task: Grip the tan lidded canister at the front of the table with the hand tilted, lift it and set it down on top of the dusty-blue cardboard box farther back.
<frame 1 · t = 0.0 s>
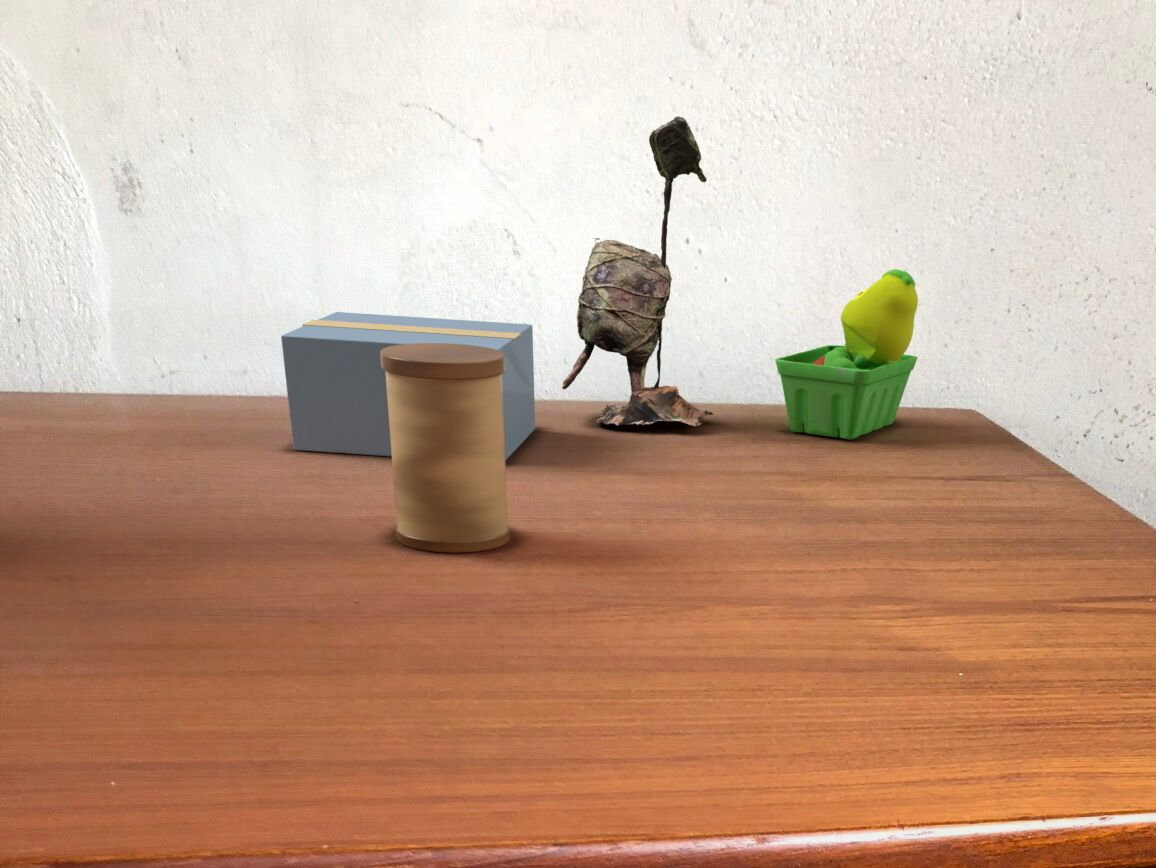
fruit basket: (849, 431, 116), on the table
blue box: (420, 439, 105), on the table
tan lidded canister: (453, 537, 83), on the table
brown bird sculpture: (639, 425, 114), on the table
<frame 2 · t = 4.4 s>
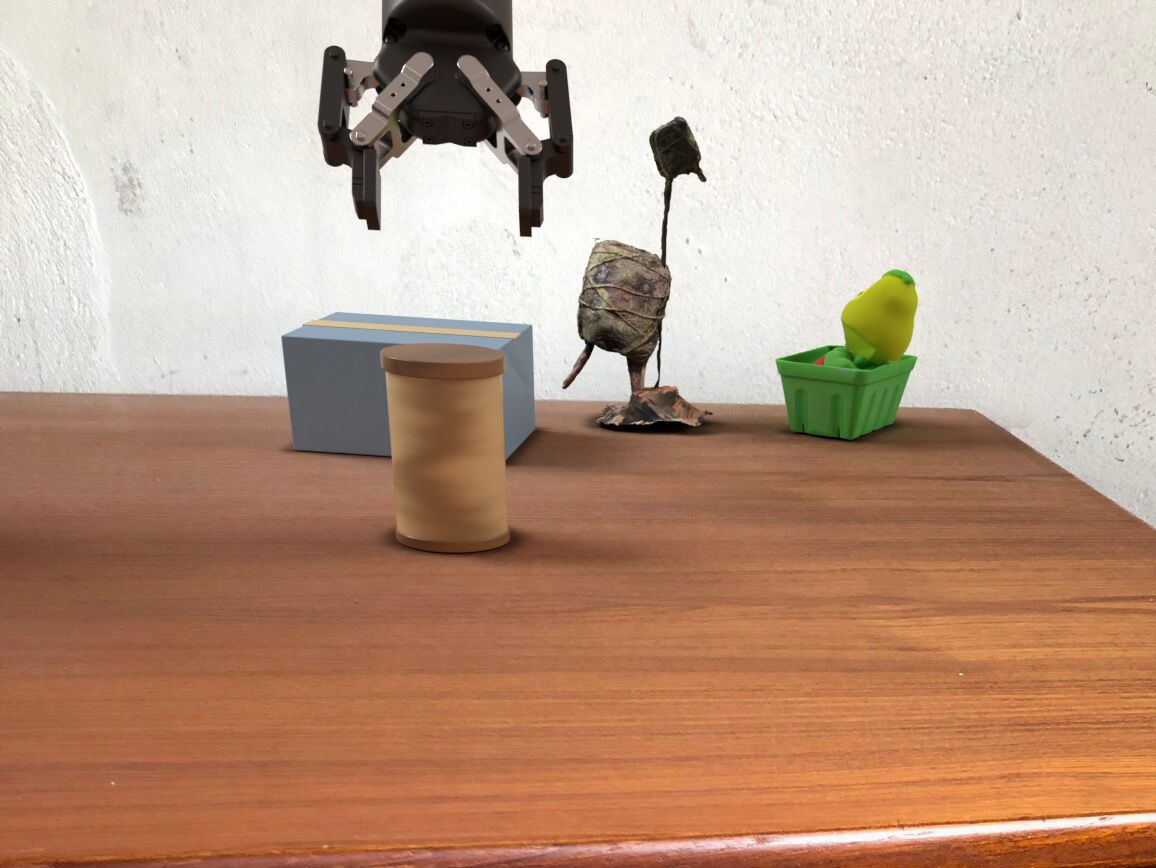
hand: (448, 223, 85), 15 cm above the table, tool tilted 45°, fingers open, 8 cm apart
nothing on the table moved.
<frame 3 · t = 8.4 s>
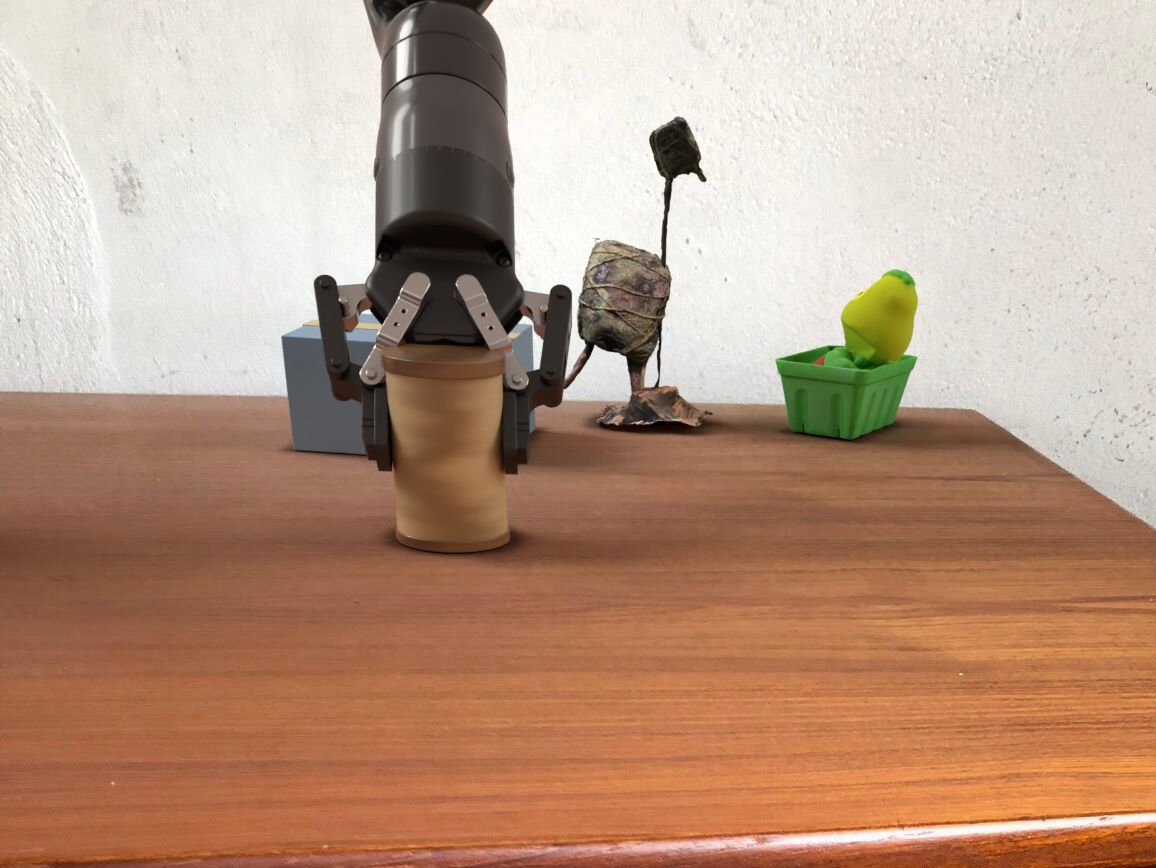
hand: (446, 463, 80), 4 cm above the table, tool tilted 45°, fingers closed on tan lidded canister, 6 cm apart
tan lidded canister: (453, 537, 83), on the table, touching gripper
everything else where it was.
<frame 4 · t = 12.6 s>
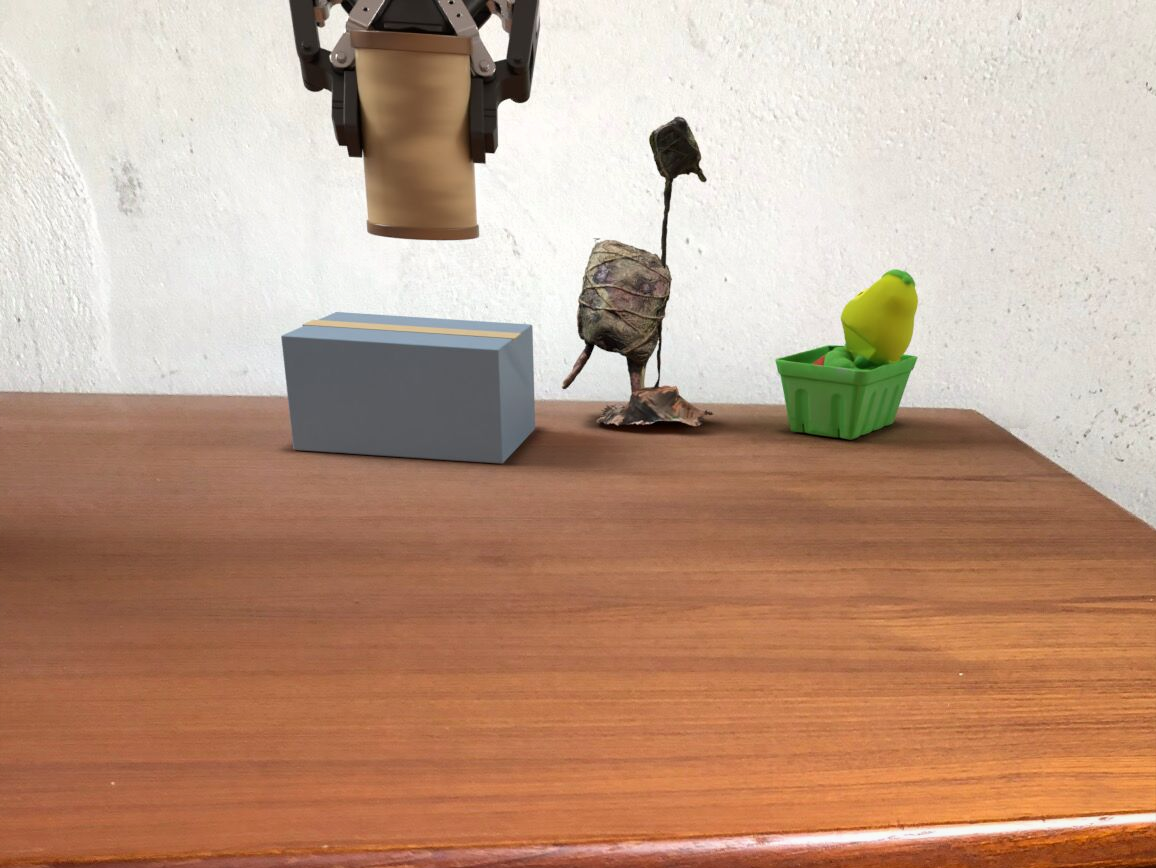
hand: (415, 148, 81), 18 cm above the table, tool tilted 45°, fingers closed on tan lidded canister, 6 cm apart
tan lidded canister: (423, 234, 85), point 14 cm above the table, touching gripper
everything else where it was.
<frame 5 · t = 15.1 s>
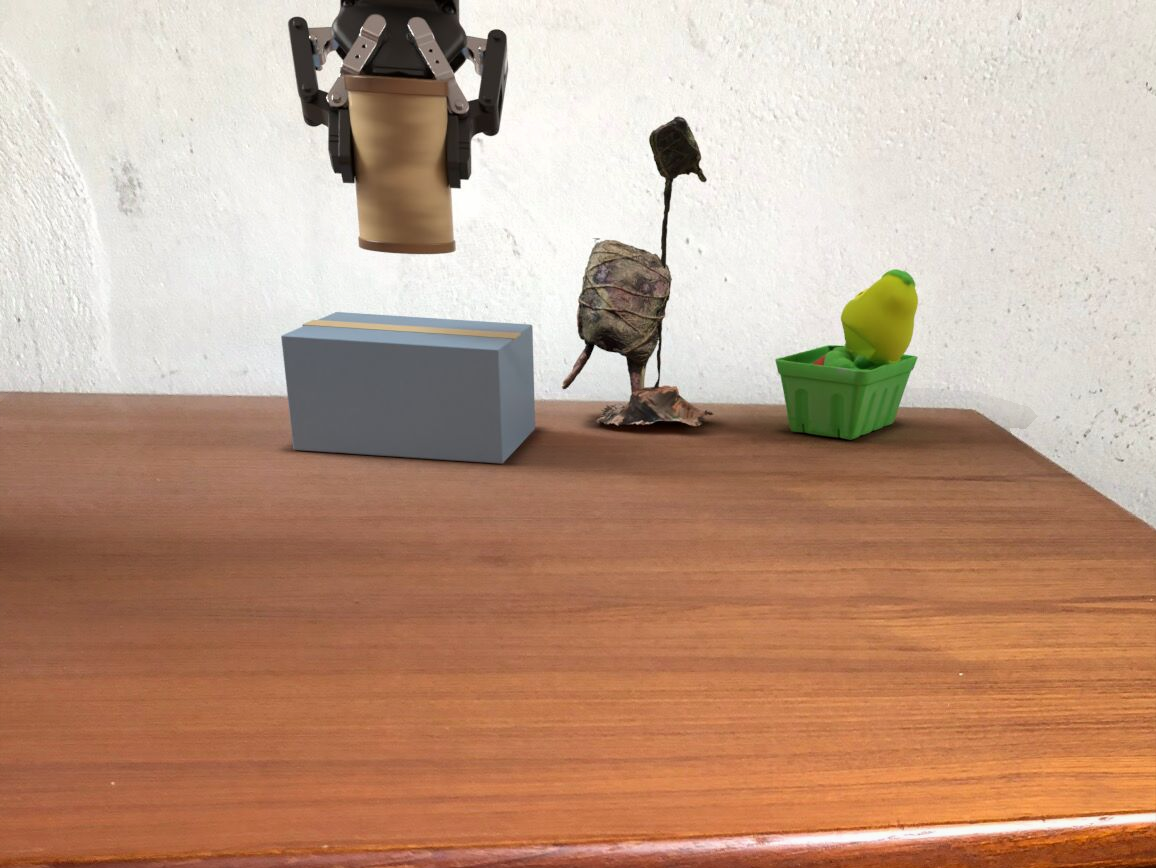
hand: (400, 175, 95), 16 cm above the table, tool tilted 45°, fingers closed on tan lidded canister, 6 cm apart
tan lidded canister: (407, 248, 98), point 12 cm above the table, touching gripper
everything else where it was.
when the fingers open (11 cm above the table, at t = 17.1 s): tan lidded canister stays where it is, resting on blue box.
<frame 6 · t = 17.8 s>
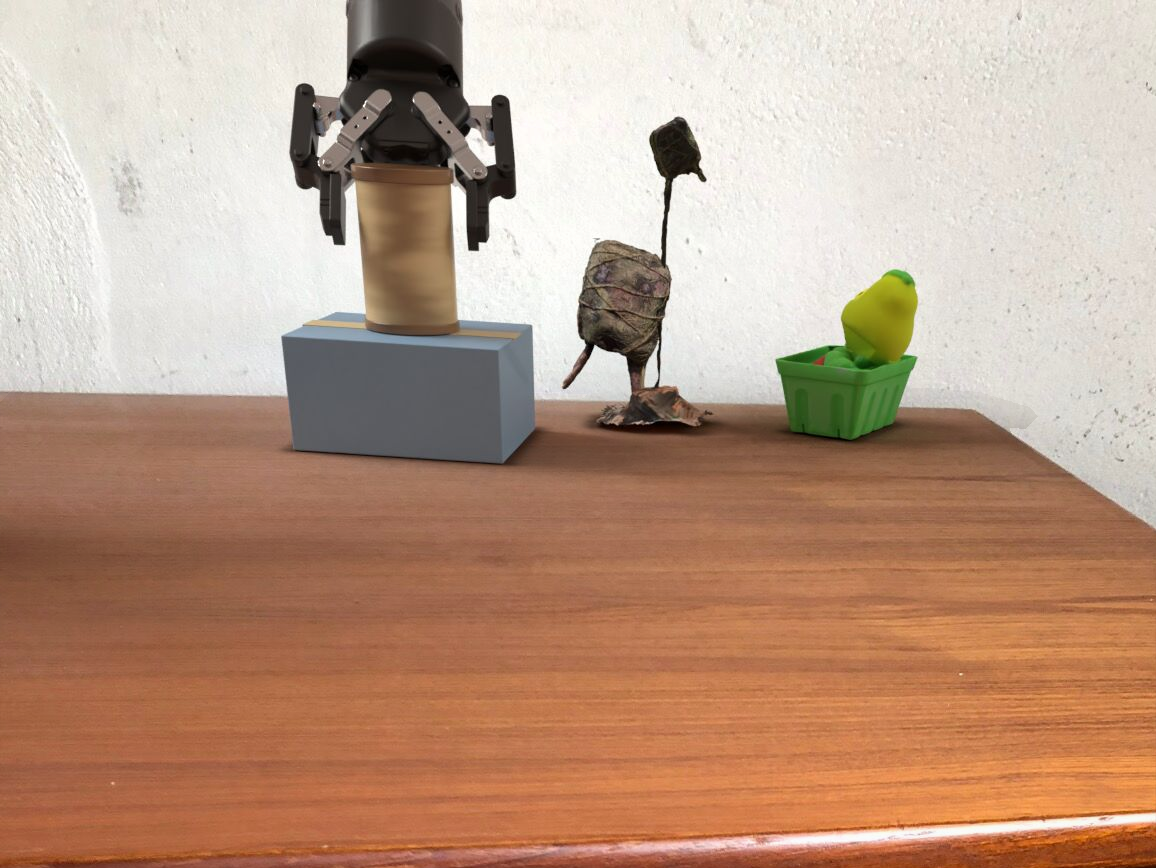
hand: (405, 239, 97), 13 cm above the table, tool tilted 45°, fingers open, 8 cm apart
tan lidded canister: (412, 328, 101), point 7 cm above the table, touching blue box
everything else where it was.
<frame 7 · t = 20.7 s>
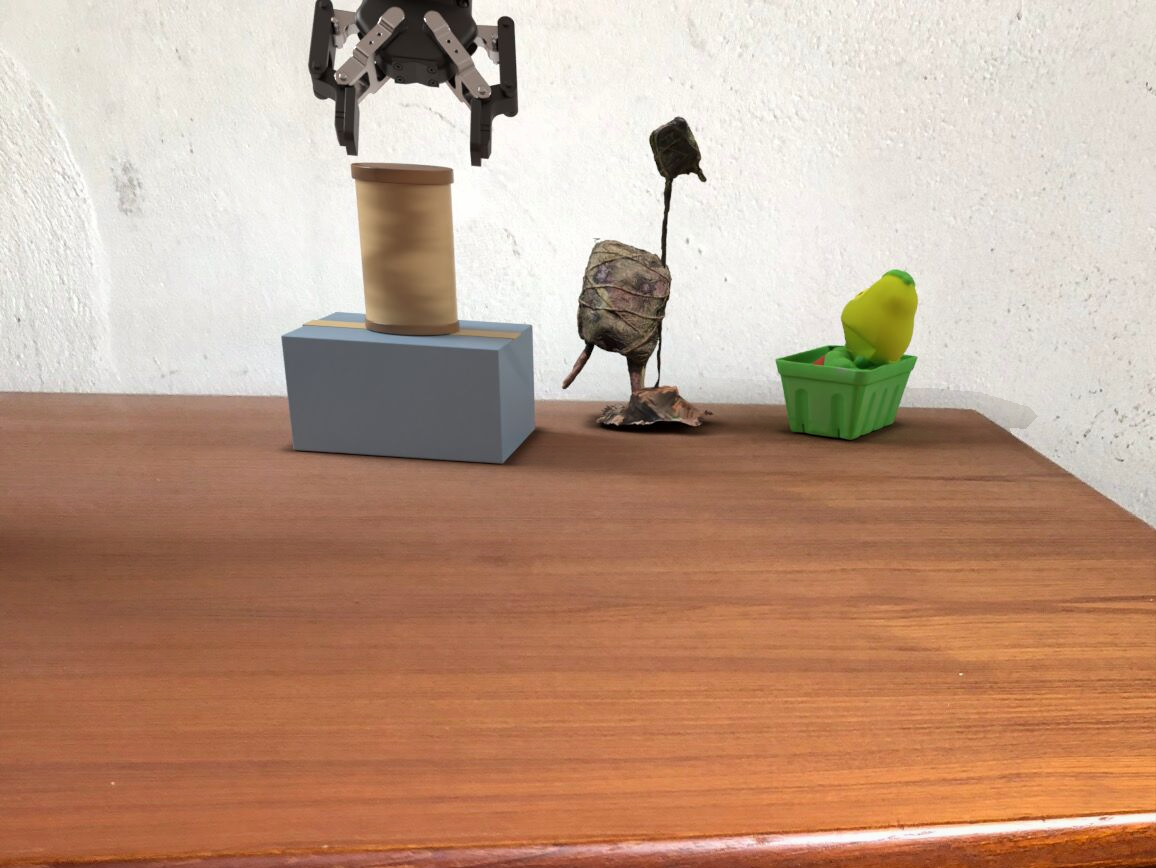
hand: (413, 153, 105), 17 cm above the table, tool tilted 40°, fingers open, 8 cm apart
nothing on the table moved.
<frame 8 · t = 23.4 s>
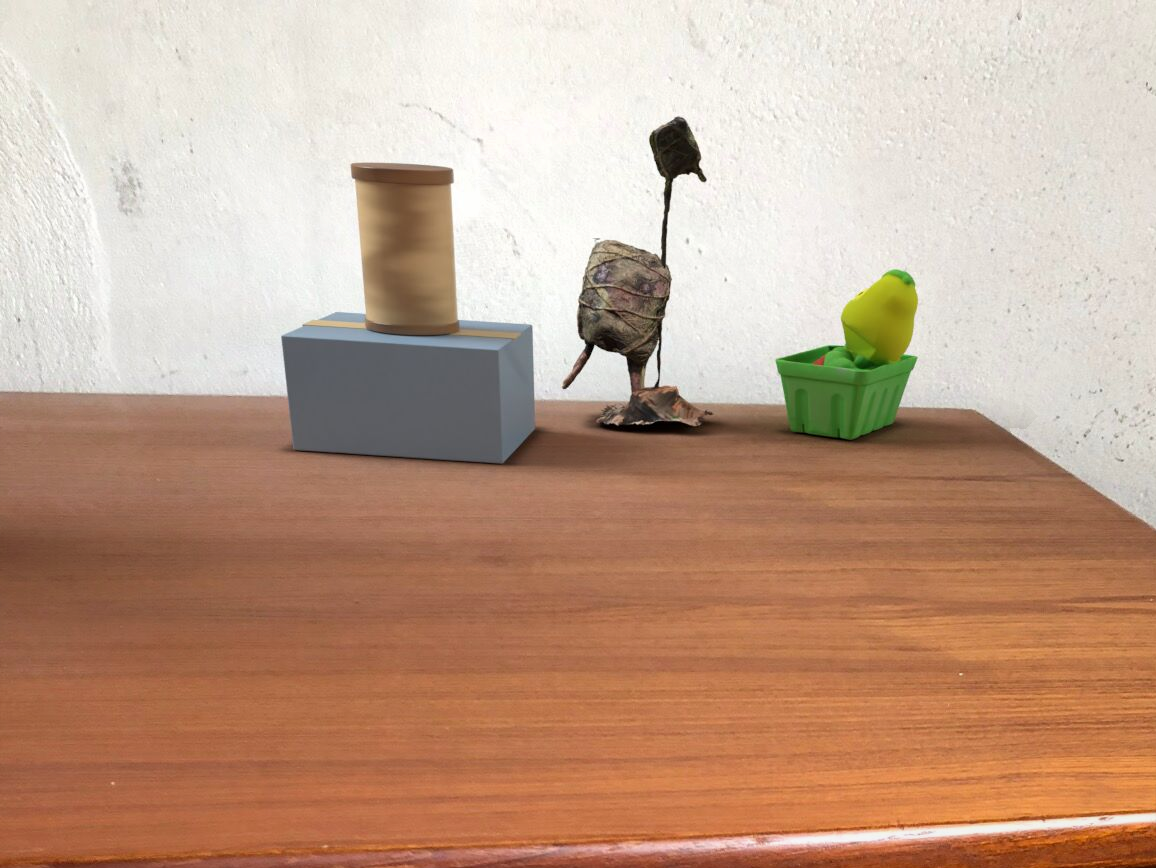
nothing on the table moved.
at the end: tan lidded canister inside the target area on the blue box (0.1 cm from its centre), point 7.0 cm above the blue box's base; tan lidded canister tilted 0°; the gripper is holding nothing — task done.
